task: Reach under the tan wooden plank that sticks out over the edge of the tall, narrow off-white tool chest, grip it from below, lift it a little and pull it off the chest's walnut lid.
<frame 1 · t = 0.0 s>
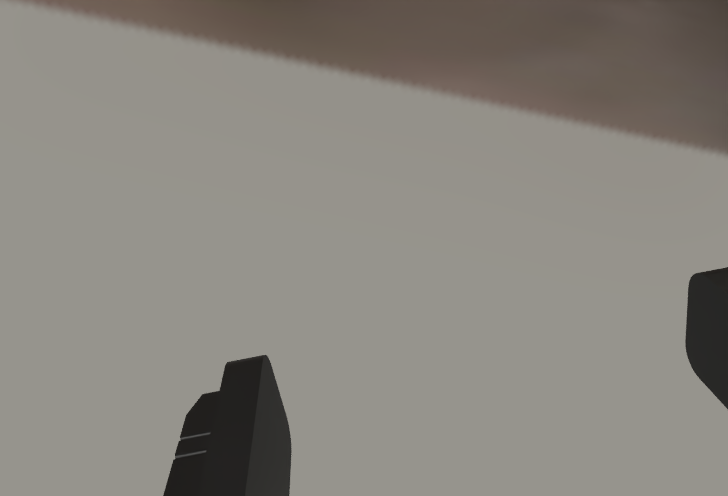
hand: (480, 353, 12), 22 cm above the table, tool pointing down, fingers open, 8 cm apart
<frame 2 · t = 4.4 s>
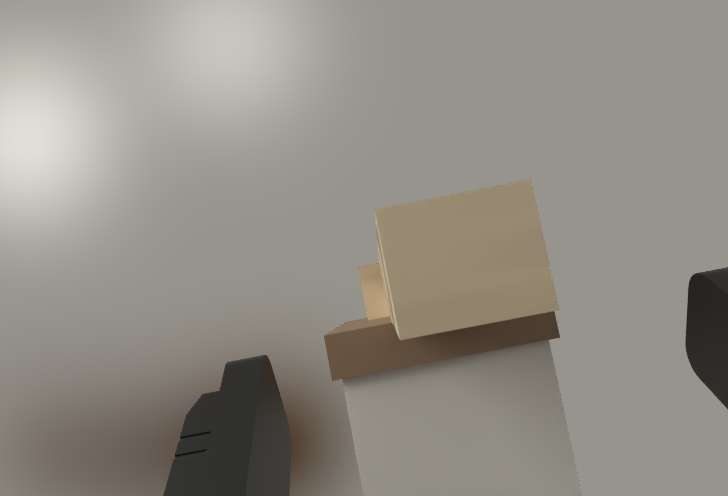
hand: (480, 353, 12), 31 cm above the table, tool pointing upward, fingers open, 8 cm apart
tan wooden plank: (431, 312, 22), point 32 cm above the table, touching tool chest
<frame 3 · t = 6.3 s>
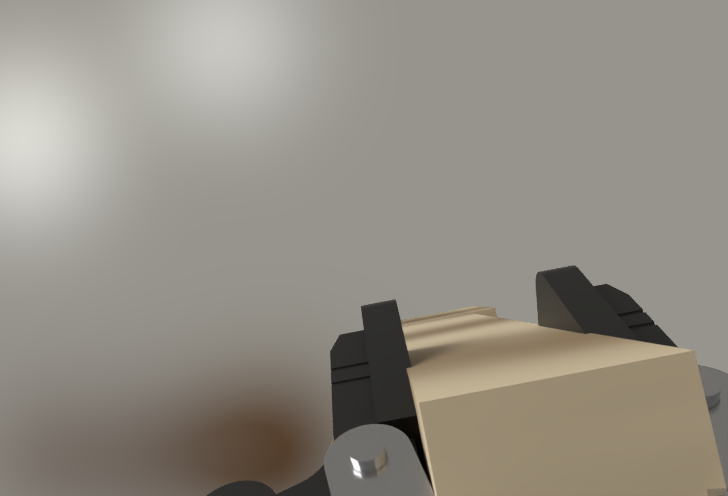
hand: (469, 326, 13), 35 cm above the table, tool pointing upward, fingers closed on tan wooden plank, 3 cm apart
tan wooden plank: (464, 415, 17), point 32 cm above the table, touching gripper, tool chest
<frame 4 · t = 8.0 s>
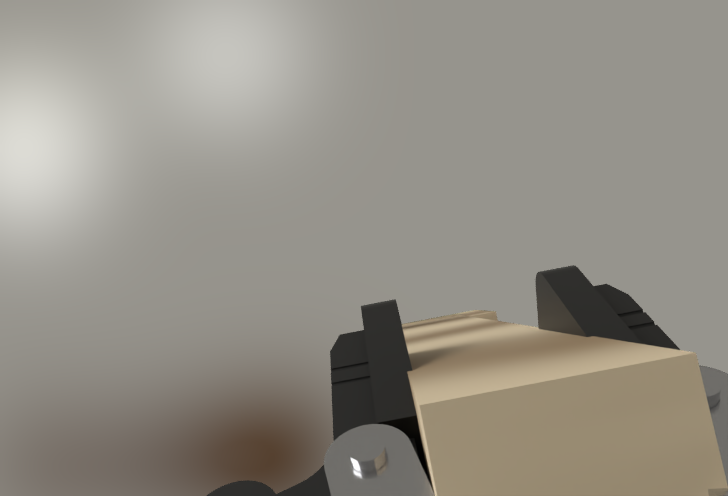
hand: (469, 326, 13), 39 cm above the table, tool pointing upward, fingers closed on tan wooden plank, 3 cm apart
tan wooden plank: (465, 419, 17), point 36 cm above the table, touching gripper
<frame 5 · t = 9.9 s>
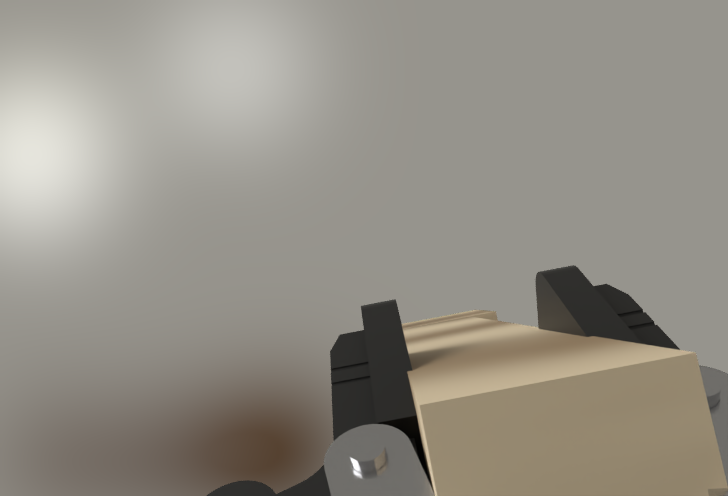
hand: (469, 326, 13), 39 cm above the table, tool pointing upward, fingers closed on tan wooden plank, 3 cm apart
tan wooden plank: (465, 419, 17), point 36 cm above the table, touching gripper
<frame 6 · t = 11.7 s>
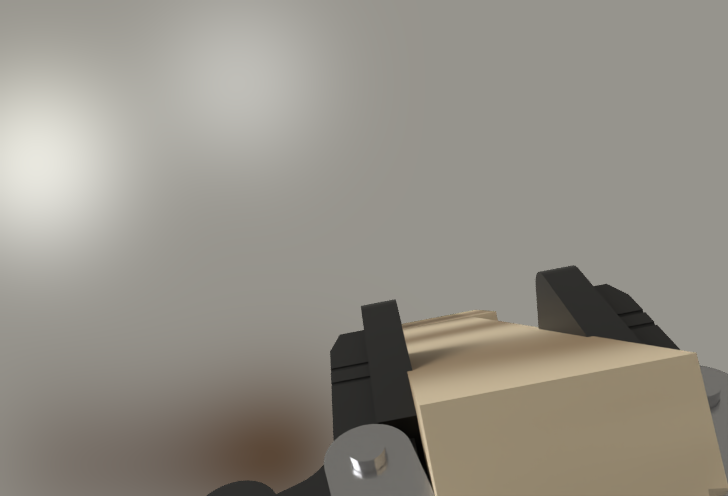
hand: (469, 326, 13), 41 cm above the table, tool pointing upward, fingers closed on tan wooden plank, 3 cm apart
tan wooden plank: (465, 419, 17), point 38 cm above the table, touching gripper
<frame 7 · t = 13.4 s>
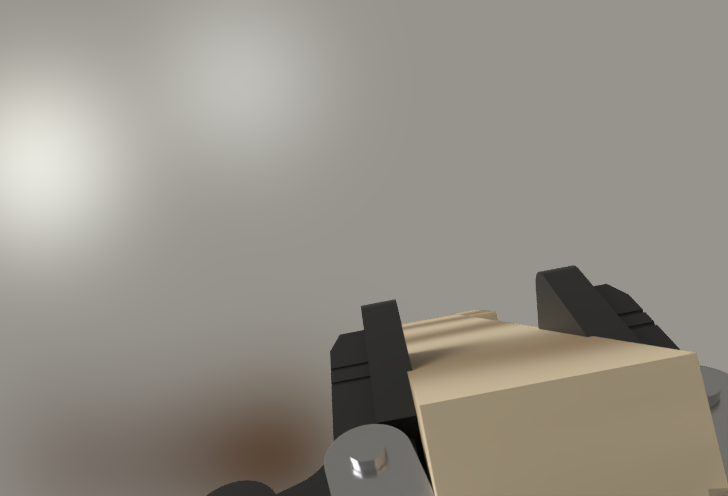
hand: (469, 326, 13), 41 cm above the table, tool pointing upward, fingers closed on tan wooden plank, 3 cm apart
tan wooden plank: (465, 419, 17), point 38 cm above the table, touching gripper
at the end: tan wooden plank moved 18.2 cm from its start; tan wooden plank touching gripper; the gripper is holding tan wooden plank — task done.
